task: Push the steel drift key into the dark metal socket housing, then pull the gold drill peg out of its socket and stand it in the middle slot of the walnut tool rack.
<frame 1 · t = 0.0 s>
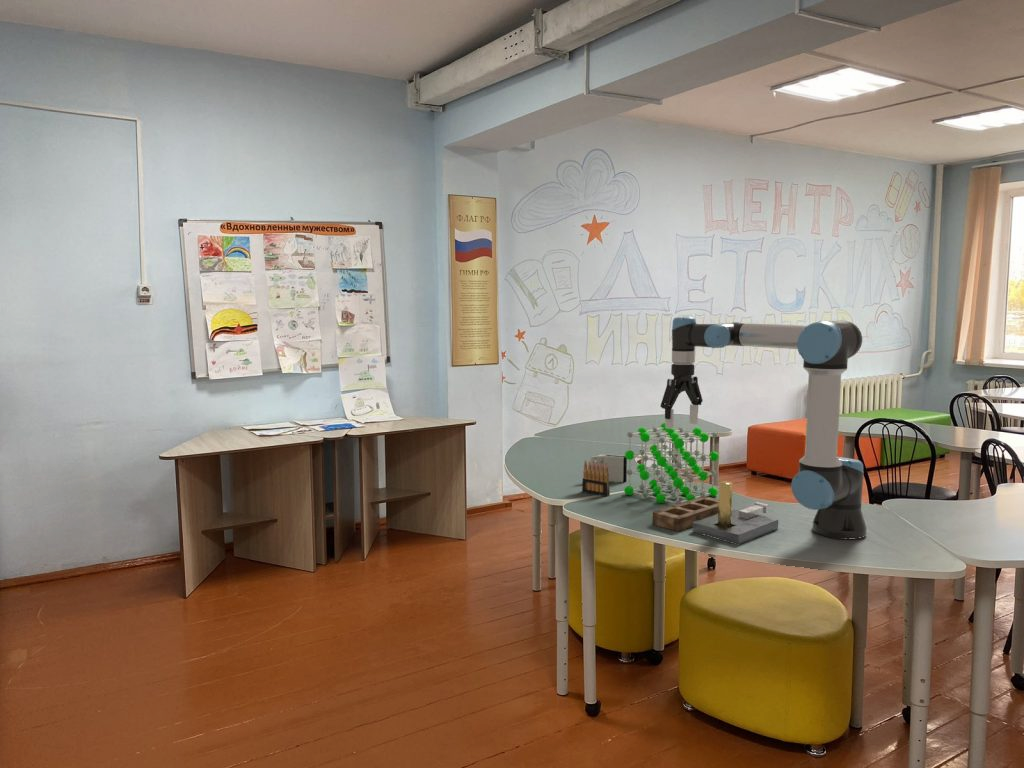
hand: (681, 426, 255), 28 cm above the table, tool pointing down, fingers open, 13 cm apart
drift key: (753, 510, 238), point 4 cm above the table, slide at 6.0 cm
molecular structure model: (670, 496, 273), on the table
socket housing: (735, 530, 233), on the table
tool rack: (691, 518, 245), on the table
ammunition clip: (595, 494, 276), on the table
drill peg: (724, 534, 229), resting in socket housing
grey rectangular box: (608, 481, 294), on the table
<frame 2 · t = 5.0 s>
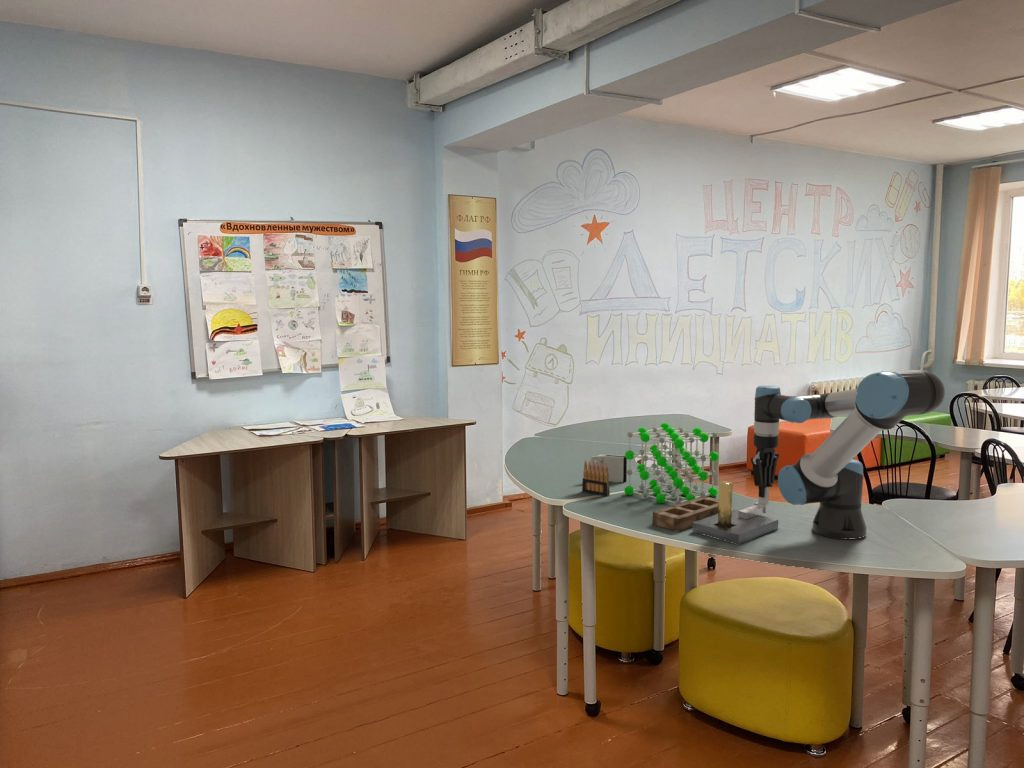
hand: (763, 506, 243), 4 cm above the table, tool pointing down, fingers closed
drift key: (752, 510, 238), point 4 cm above the table, slide at 5.8 cm, touching gripper
everything else where it was.
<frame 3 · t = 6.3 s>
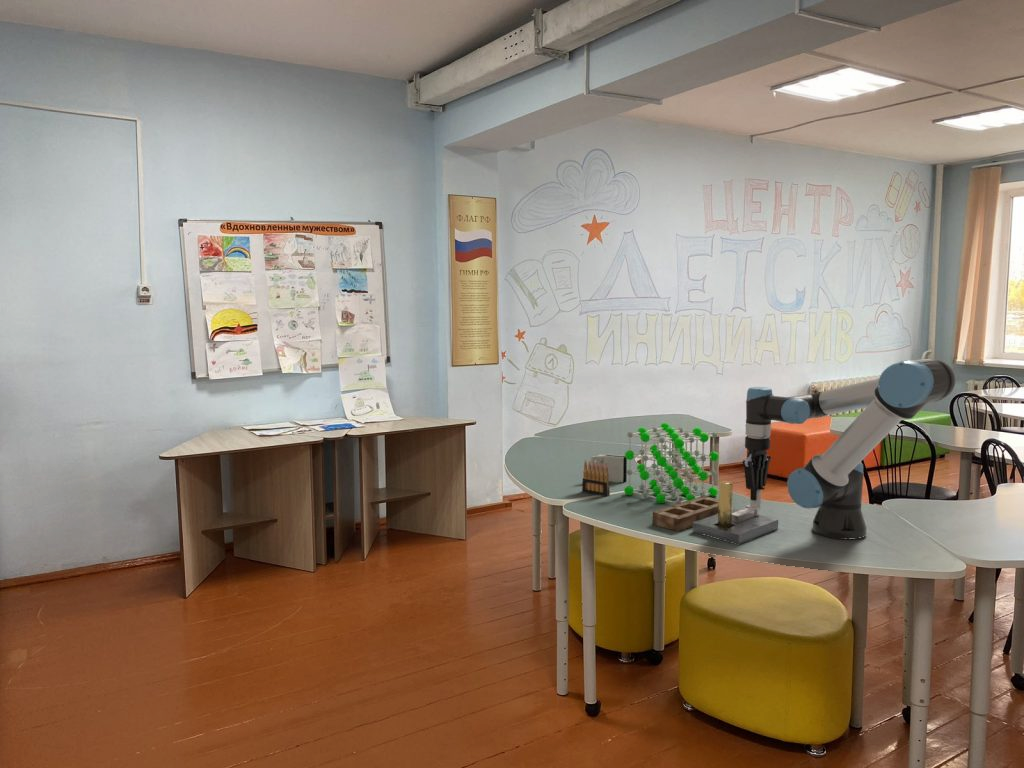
hand: (755, 509, 239), 4 cm above the table, tool pointing down, fingers closed
drift key: (744, 513, 235), point 4 cm above the table, slide at 0.8 cm, touching gripper
everything else where it was.
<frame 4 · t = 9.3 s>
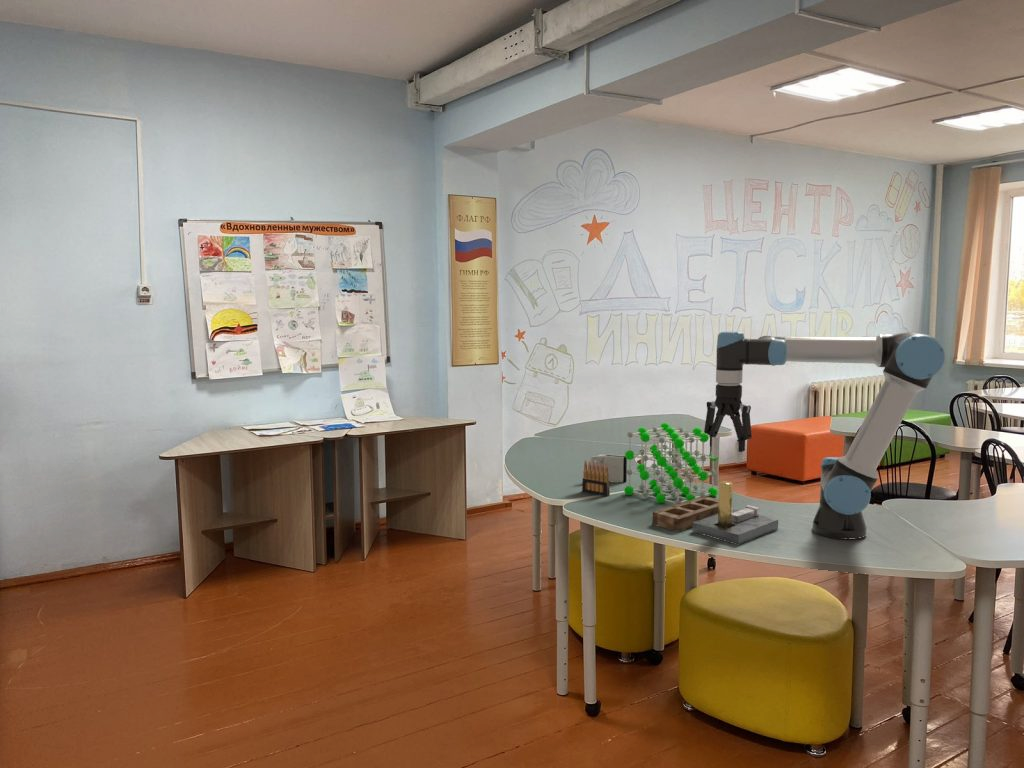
hand: (726, 459, 226), 23 cm above the table, tool pointing down, fingers open, 7 cm apart
drift key: (743, 513, 235), point 4 cm above the table, slide at 0.7 cm
everything else where it was.
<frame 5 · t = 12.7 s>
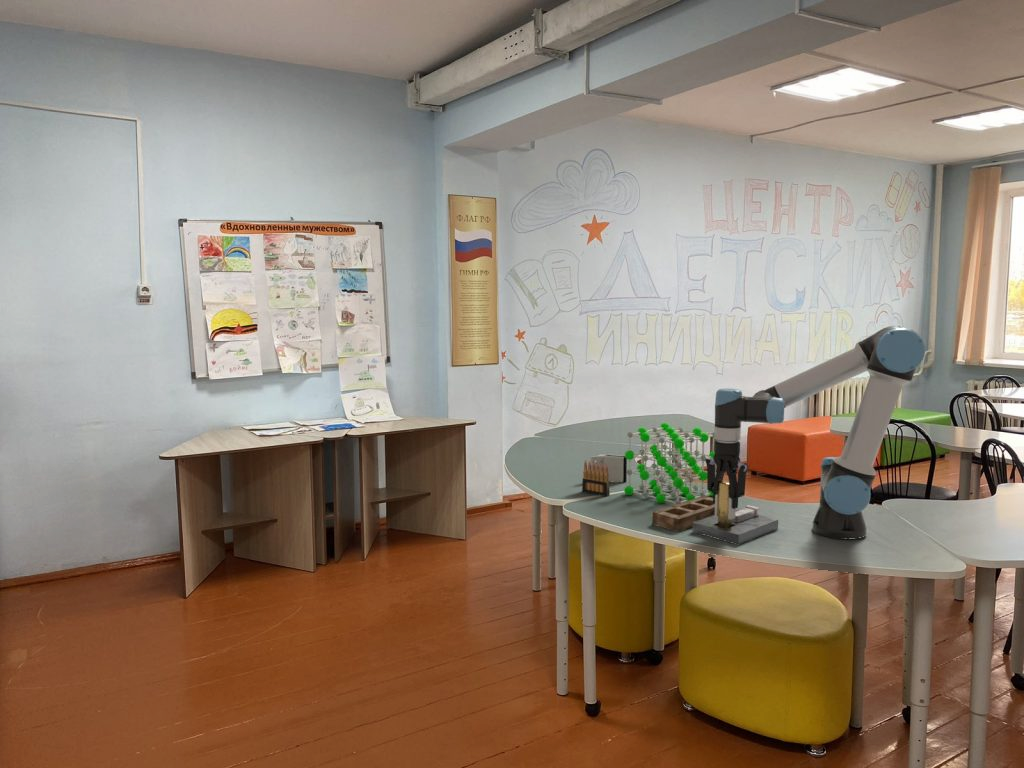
hand: (724, 516, 228), 6 cm above the table, tool pointing down, fingers closed on drill peg, 4 cm apart
drill peg: (724, 534, 229), resting in socket housing, touching gripper
everything else where it was.
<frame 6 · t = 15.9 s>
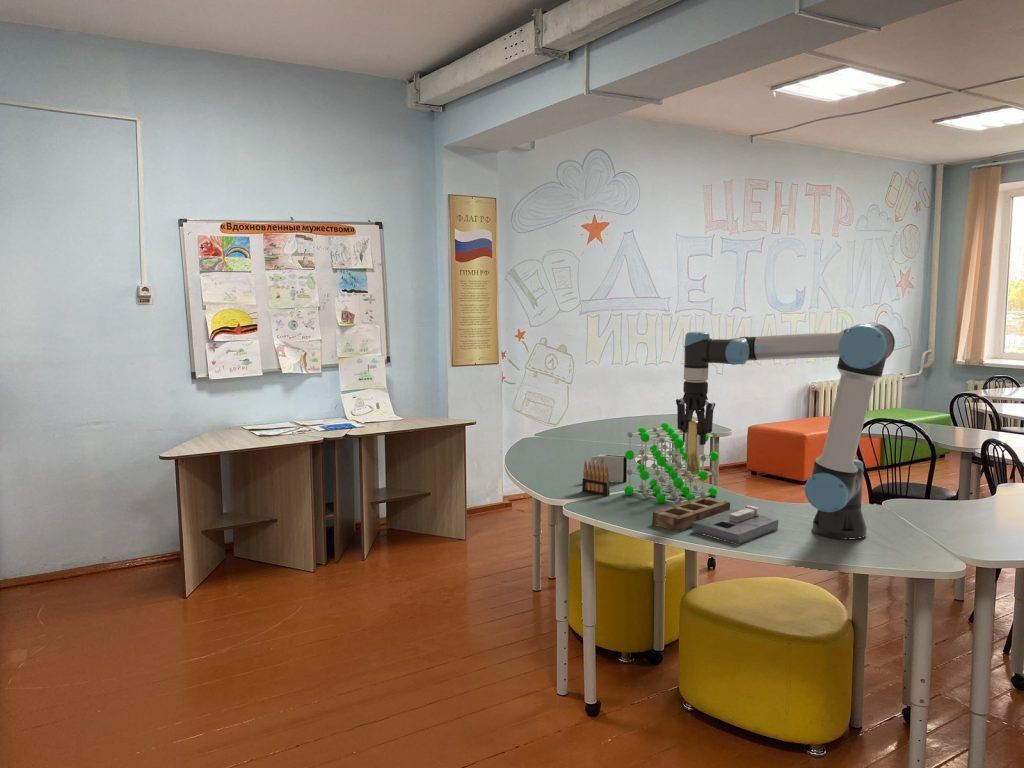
hand: (693, 453, 242), 22 cm above the table, tool pointing down, fingers closed on drill peg, 4 cm apart
drill peg: (693, 470, 242), point 16 cm above the table, touching gripper
everything else where it was.
when the fingers open (7 cm above the table, at t = 19.6 s): drill peg drops 1 cm, resting in tool rack.
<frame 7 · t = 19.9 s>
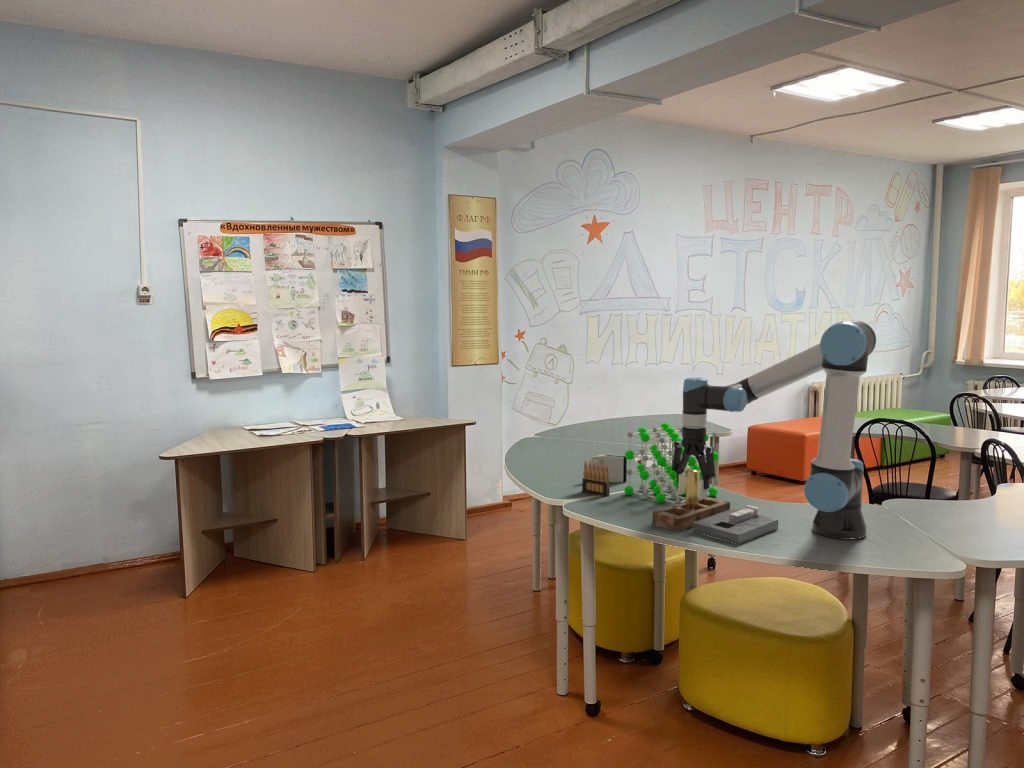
hand: (692, 495, 244), 8 cm above the table, tool pointing down, fingers open, 8 cm apart
drill peg: (691, 519, 245), resting in tool rack
everything else where it was.
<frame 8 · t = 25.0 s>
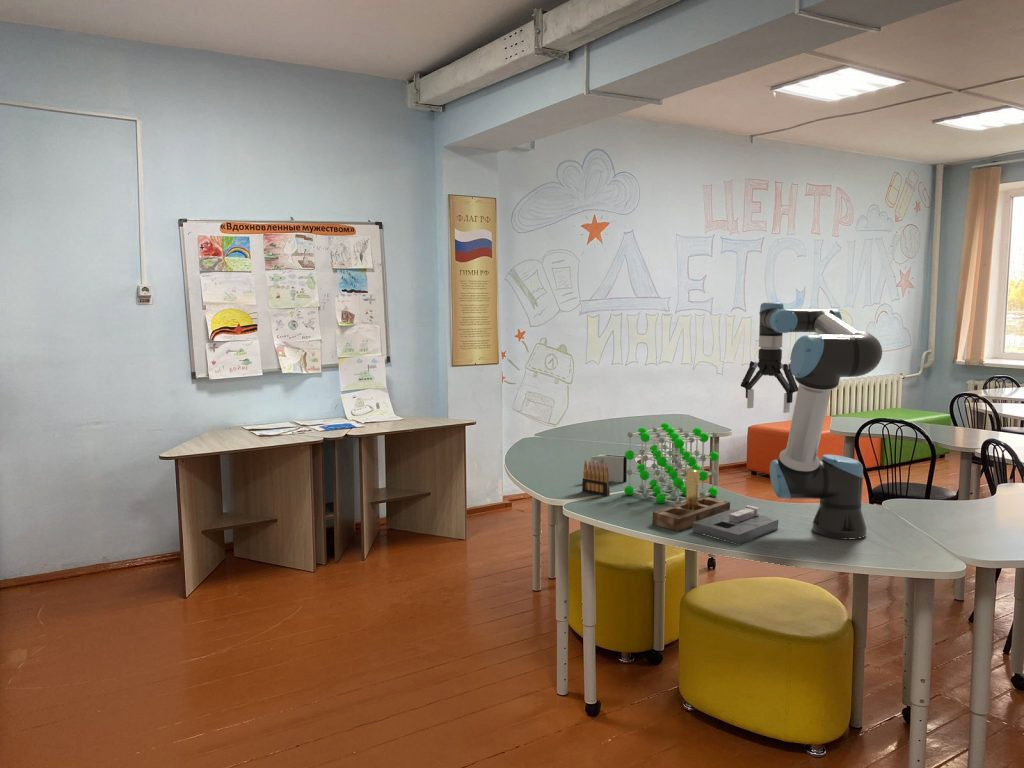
hand: (768, 410, 258), 33 cm above the table, tool pointing down, fingers open, 13 cm apart
nothing on the table moved.
at the end: drift key slide at 0.7 cm; drill peg 0.0 cm off-centre on the tool rack, point 0.0 cm above the tool rack's base; drill peg tilted 0° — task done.
